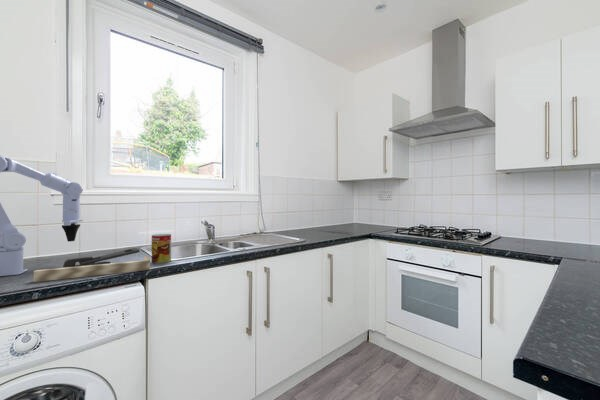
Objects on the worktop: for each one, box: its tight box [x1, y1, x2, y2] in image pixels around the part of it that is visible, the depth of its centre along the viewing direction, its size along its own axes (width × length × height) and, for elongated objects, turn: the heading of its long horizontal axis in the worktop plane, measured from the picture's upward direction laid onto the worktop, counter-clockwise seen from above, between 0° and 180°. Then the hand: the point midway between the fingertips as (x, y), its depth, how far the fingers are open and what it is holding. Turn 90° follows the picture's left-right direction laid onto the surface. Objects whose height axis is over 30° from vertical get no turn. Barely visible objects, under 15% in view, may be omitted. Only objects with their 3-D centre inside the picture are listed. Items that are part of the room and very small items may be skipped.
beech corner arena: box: [33, 254, 151, 283], centre depth 105 cm, size 34×13×4 cm, turn 119°
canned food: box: [151, 233, 172, 264], centre depth 123 cm, size 8×8×12 cm
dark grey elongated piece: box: [62, 247, 140, 268], centre depth 110 cm, size 9×7×25 cm
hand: (71, 241), depth 119 cm, fingers closed
